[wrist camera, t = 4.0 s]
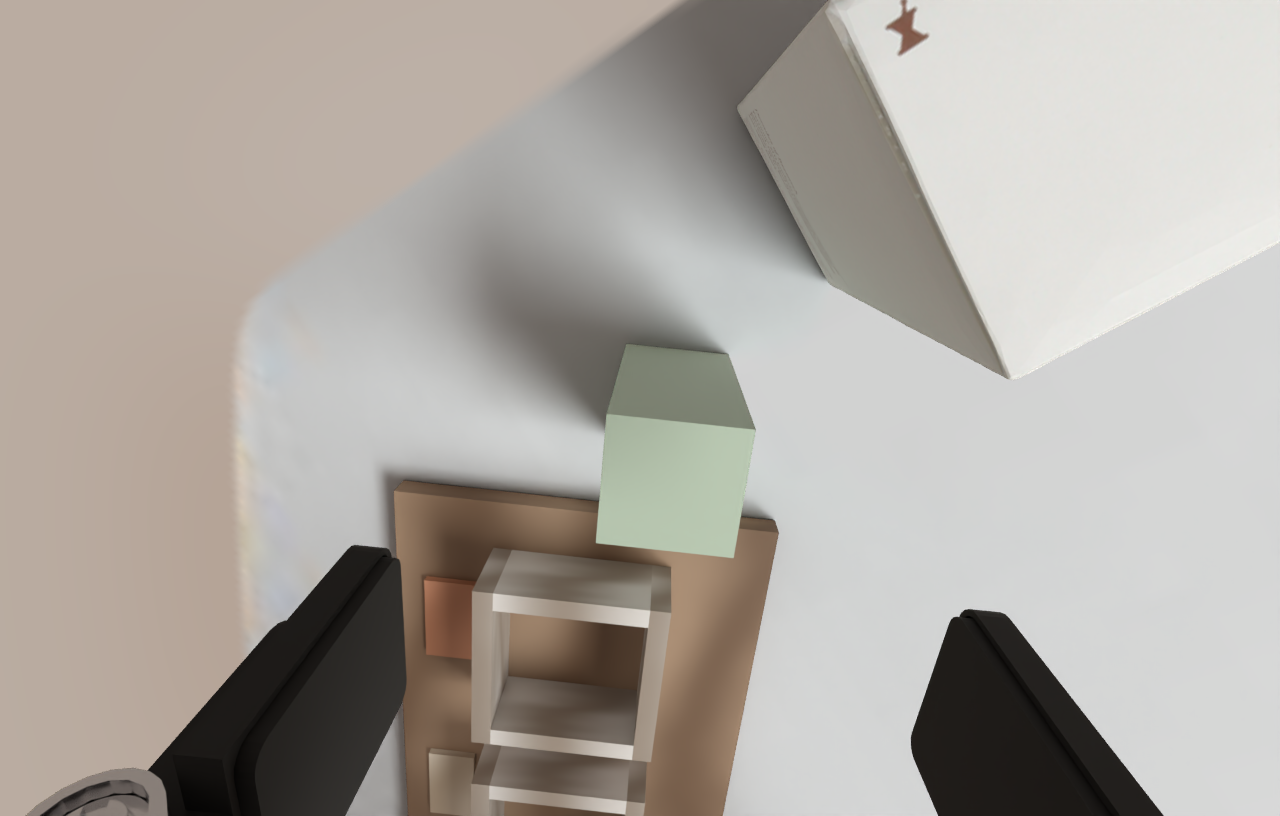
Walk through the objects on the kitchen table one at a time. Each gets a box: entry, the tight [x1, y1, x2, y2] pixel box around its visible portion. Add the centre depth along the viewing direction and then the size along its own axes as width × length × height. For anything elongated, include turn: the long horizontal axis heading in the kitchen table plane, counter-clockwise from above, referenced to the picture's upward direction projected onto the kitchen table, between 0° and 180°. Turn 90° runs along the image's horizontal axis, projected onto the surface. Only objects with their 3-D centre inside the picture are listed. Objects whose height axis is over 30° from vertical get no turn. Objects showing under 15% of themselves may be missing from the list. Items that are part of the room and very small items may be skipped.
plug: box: [596, 344, 756, 558], centre depth 21 cm, size 4×4×8 cm
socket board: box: [394, 480, 779, 816], centre depth 28 cm, size 16×22×4 cm
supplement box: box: [737, 0, 1280, 380], centre depth 15 cm, size 7×7×13 cm
